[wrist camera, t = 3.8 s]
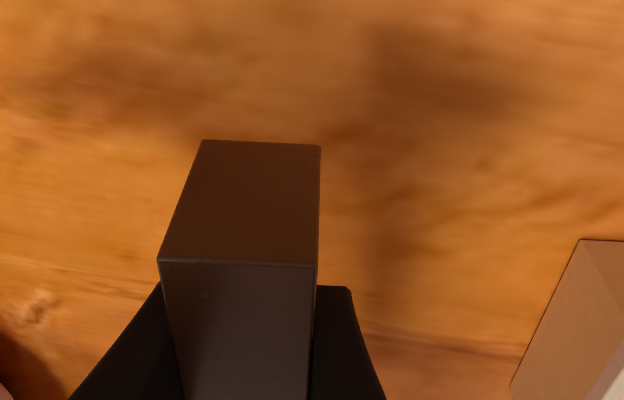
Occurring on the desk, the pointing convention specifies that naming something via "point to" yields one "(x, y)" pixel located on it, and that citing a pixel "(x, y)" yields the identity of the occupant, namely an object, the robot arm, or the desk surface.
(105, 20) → the desk surface
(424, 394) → the desk surface
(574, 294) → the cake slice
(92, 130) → the desk surface
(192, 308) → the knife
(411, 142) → the desk surface
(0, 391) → the paper bowls
